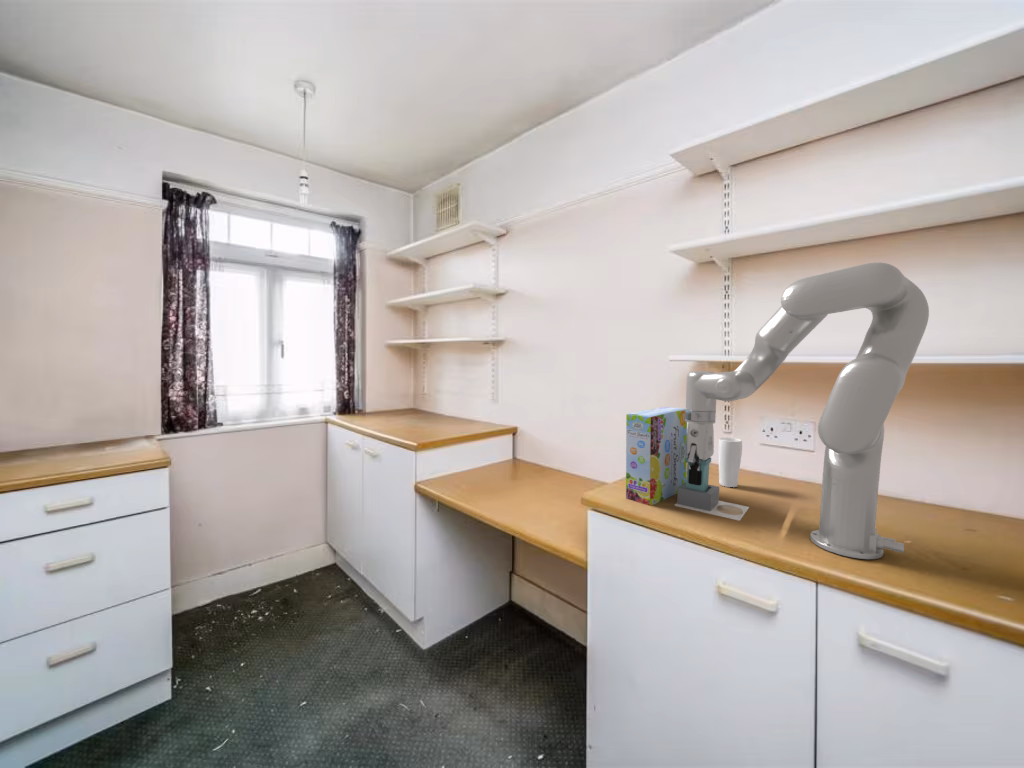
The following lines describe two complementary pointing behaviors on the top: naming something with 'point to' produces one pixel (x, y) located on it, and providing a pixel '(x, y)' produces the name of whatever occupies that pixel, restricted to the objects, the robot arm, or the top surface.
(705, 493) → the board
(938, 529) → the top surface
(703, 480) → the plug
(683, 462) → the snack box
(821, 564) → the top surface
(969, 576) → the top surface
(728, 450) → the drinking glass
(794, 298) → the robot arm
